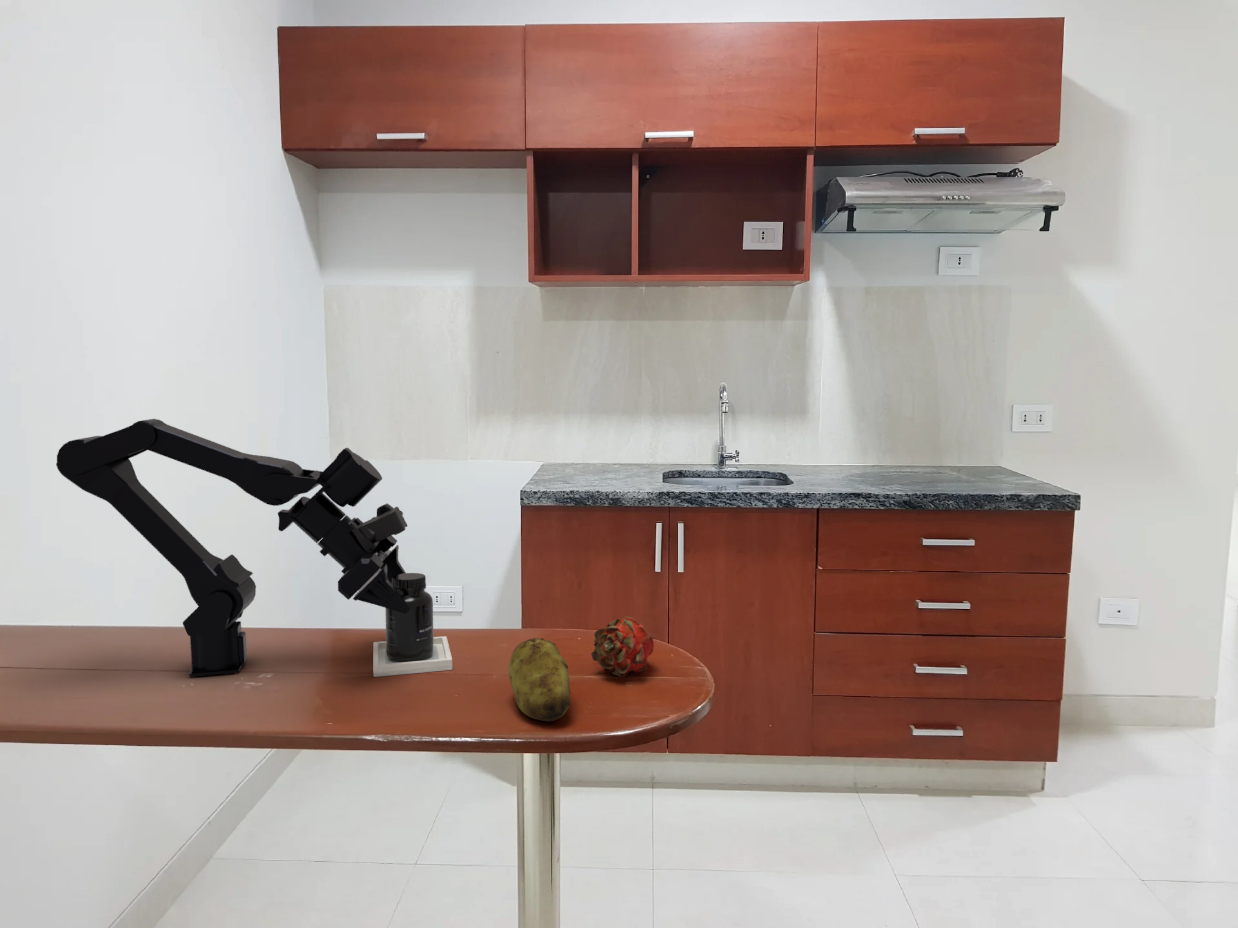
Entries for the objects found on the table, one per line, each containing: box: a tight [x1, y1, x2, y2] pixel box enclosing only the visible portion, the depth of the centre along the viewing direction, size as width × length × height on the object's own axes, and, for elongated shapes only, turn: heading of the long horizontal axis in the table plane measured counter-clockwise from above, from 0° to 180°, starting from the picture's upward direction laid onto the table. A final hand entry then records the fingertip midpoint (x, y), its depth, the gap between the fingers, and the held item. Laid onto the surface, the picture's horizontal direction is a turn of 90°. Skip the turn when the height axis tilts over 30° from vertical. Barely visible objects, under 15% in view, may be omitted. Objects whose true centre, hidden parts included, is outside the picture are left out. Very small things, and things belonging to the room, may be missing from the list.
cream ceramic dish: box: [372, 636, 453, 678], centre depth 125 cm, size 11×11×2 cm
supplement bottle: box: [385, 572, 434, 662], centre depth 125 cm, size 7×7×12 cm
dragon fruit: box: [590, 616, 655, 678], centre depth 121 cm, size 8×8×12 cm
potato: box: [508, 637, 571, 723], centre depth 108 cm, size 8×13×8 cm, turn 1°
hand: (411, 602), depth 124 cm, fingers open, 9 cm apart
